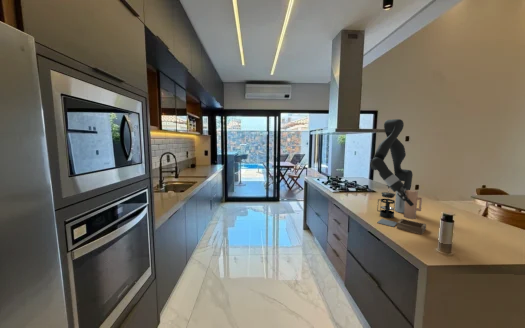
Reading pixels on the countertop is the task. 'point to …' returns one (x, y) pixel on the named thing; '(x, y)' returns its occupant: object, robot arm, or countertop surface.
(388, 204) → the french press
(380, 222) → the mat
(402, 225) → the wooden tray
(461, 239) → the countertop surface
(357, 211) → the countertop surface
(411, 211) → the jug
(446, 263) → the countertop surface
